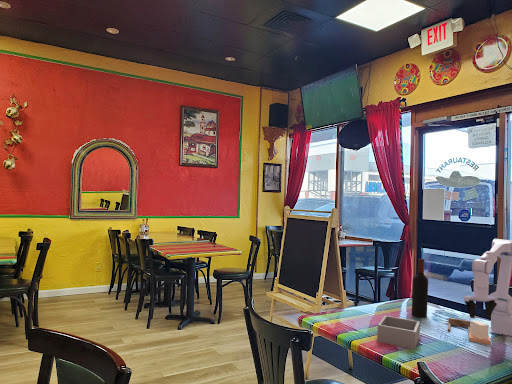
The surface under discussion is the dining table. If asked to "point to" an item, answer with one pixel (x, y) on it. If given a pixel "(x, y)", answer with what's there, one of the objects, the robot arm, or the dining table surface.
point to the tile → (475, 339)
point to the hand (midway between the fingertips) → (479, 317)
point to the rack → (459, 323)
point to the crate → (398, 332)
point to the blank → (479, 329)
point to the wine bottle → (420, 292)
